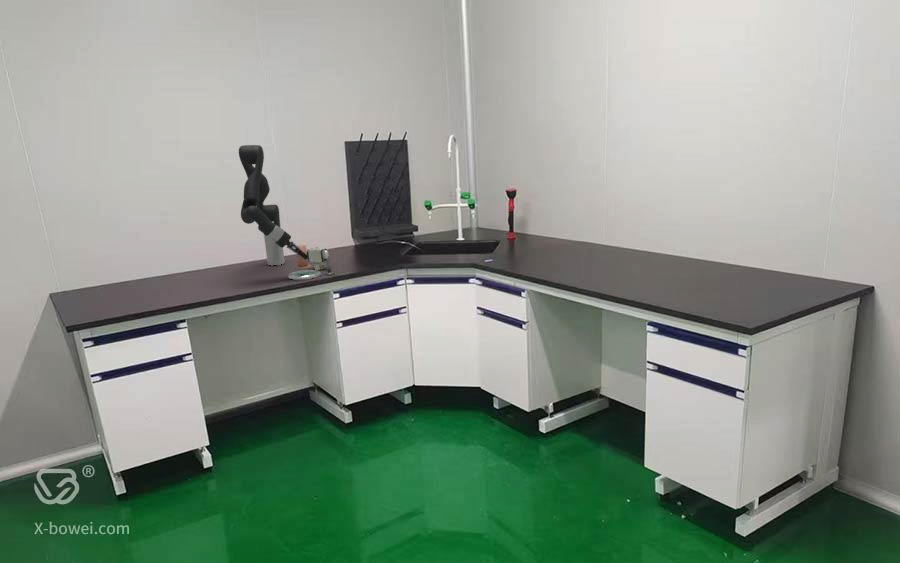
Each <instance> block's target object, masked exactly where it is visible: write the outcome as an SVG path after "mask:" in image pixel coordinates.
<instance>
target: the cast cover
mask: <svg viewBox="0 0 900 563" xmlns="http://www.w3.org/2000/svg"><path fill="white" fill-rule="evenodd" d="M297 246H298V247H299V249H300V250H302V251H303V252H304V253H305V254H306V255H307V250H308V249H307V245H303V244H301V245H297ZM300 250H298V251H297V253H299V251H300ZM297 253H296V257H297V259H296V260H297V265H294V269H295V270H298V271H302V270H310V269H311V268H312V264H309V261H308V259H306V260H305V259H304V258H303V257H301V256H300V255H298V254H297Z"/></svg>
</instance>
